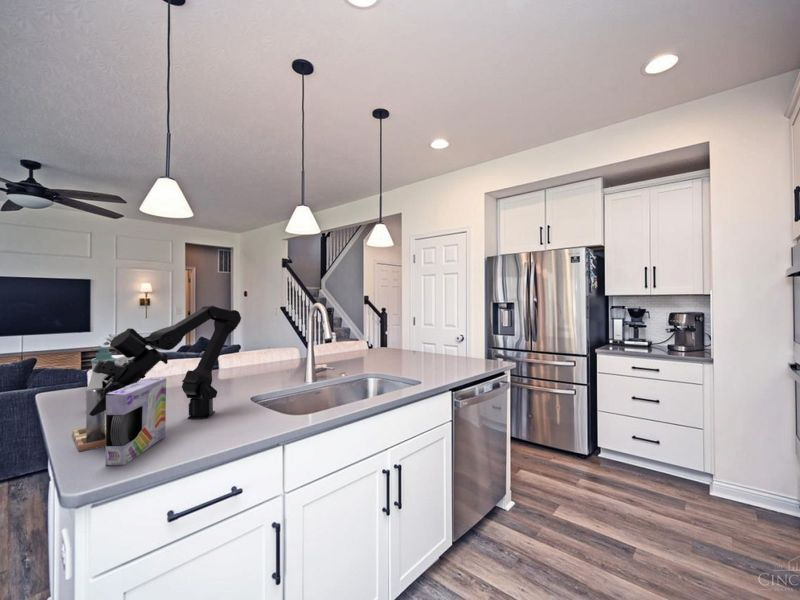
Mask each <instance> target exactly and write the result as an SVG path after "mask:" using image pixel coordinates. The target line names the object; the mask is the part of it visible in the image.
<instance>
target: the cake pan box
mask: <svg viewBox="0 0 800 600" xmlns="http://www.w3.org/2000/svg"><path fill="white" fill-rule="evenodd" d="M166 400H167V377H157V376H156V377H149V378H146V379H144V380H140V381H138V382H137V383H134V384H131V385H128V386H126V387H124V388H121V389H119V390H116V391H113V392H110V393H107V395H106V412H105V425H106V446H104V447H105V465H115V466H125V465H126V464H128V463H129V462H131V461H132V460H134V459H135V458H137V456H139V455H141V454H142V453H144V452H145V451H146V450H148V449H149V448H151V447H152V446H153V445H154V444H157V443H158V442H159V441H161V440H162V439H163V438H165V437H166V415H167V414H166V411H167V410H166V407H167V406H166V405H167V403H166V402H167V401H166ZM127 462H128V463H127ZM124 464H125V465H124Z"/></svg>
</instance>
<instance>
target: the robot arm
mask: <svg viewBox="0 0 800 600" xmlns="http://www.w3.org/2000/svg"><path fill="white" fill-rule="evenodd" d="M209 320H211V321H213V325H214V326H213V327H214V330H213V333H212V335H211V337H210V339H209V341H208V343H207V345H206V348H205V350H204V352H203V354H202V356H201V358H200V360H199V362H198V365H197V366H196V367H195V368H194V369H193V370H189V369H188V370H187V371H186V374H185V376H184V378H183V380H182V381H181V382H182V386H181V388H182V392H184V394H185V396H186V398H187V399H189V403H188V416H187V419H189V420H190V419H208V418H209V417H211V416H213V415H214V414H215V413H216V411H215V410H214V399H215V398H217V395H218V390H217V389H215V388H214V387H213V385H212V383H213V373H212V372H213V369H214V367H215V365H216V362H217V361H218V358H219V357H220V354H221V352H222V349H223V348H224V347H225V346H224V345H225V344H226V341H227V339H228V338H229V337H228V336H229V335H230V334H231V333H232V332H234V331H235V329H237V327H238V326H239V324H240V323H241V320H242V316H241V314H240V312H239V311H238V310H235V309H225V308H220V307H218V306H215V305H203V306H202V307H201V308H200V309H198V310H197V311H195V312H194V313H192V314H190V315H188V316H187V317H185V318H183V319H182V320H180V321H178V322H177V323H175V324H172V325H170V326H167V327H163V328H160V329H157V330H155V331H153V332H151V333H150V334H149V335H148V336H145V337H143V336H142V335H141V334H139V332H137V331H136V330H135V329H134V328H130V327H129V328H127V329H126V330H124V331H122V332H121V333H119V334H117V335H116V336H114V337H113V338H112V340H111V341H110V343H109V346H110V347H111V348H112V349H114V350H115V351H116V352H118V353H120V355H124V356H125V357H127V358H128V359H129V358H130V359H131V360H128V362H127V363H124V364H123V365H118V364H115V362H114V361H109V360H108V361H104V360H98V362H97V364H96V366H95V367H94V369H93V372H96V373H102V374H106V376H105V377H104V378H103V379H104V380H105V381H106V380H107V381H106V382H105V381H103V380H102V388H104V396H103V397H102V398H101V400H100V401H99V402H98V403H97V404H96V406H95V407H94V408H93V409H92V411H91V412H90V413H89V414H90V415H91V416H95V415H97V414H99V413H101V412H103V411H105V410H106V395H107V393H110V392H113V391H116V390H119V389H121V388H124V387H126V386H128V385H131V384H134V383H138V382H140V381H141V380H143V379H144V378H145V377H146V375H147V374H148V373H149V372H150V371H151V370H152V369H153V368H155V366H156V365H157V364H158V363H159V362H160V361H161V362H162V363H163V364H165V365H167V364H168V362H169V361H168V356H169V354H167V353H165V352H162V353H161V352H160V351H170V350H173V349H175V347H177V346H178V345H179V344H180V343H181V342H182V341H183V338H184V337H185V336H186V335H187V334H189V333H190V332H192V331H193V330H196V328H199V327H200V326H201V325H203V324H205V323H206V322H208V321H209ZM148 346H149V347H150V348H148Z"/></svg>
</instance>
